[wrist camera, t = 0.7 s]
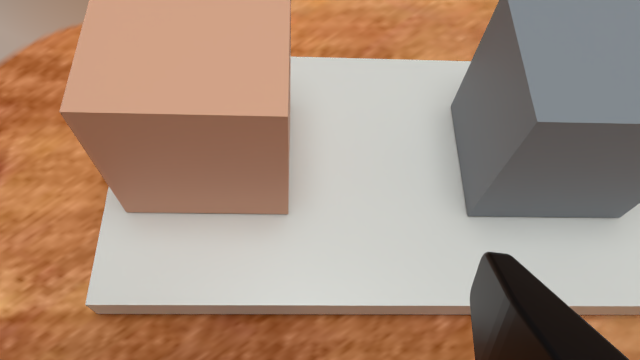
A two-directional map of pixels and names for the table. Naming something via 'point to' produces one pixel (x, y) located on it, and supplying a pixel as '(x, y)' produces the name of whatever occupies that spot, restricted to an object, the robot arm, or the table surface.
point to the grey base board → (359, 219)
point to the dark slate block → (552, 111)
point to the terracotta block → (186, 103)
